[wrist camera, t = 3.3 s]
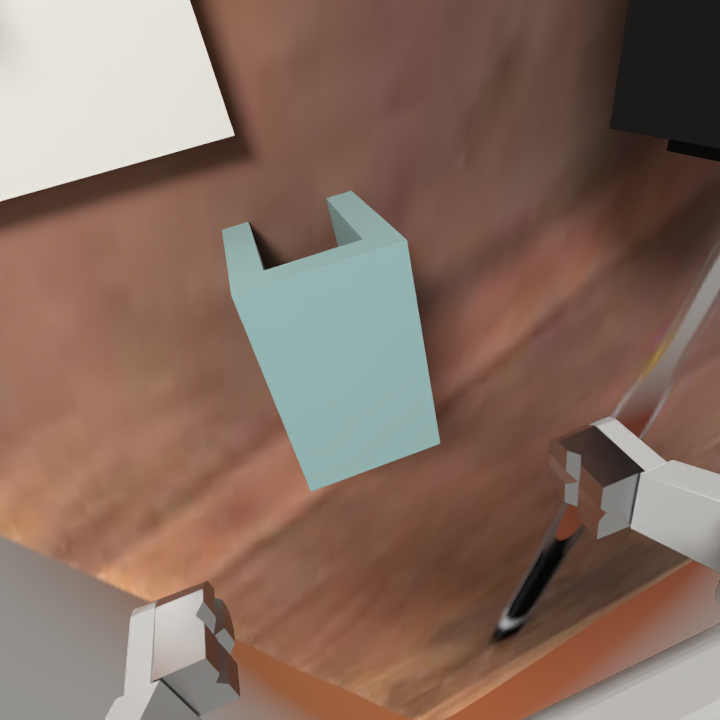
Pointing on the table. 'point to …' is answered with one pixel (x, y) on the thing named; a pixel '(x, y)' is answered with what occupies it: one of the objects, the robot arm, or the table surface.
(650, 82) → the security camera
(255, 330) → the jaw block
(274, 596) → the table surface
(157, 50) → the stub plate
